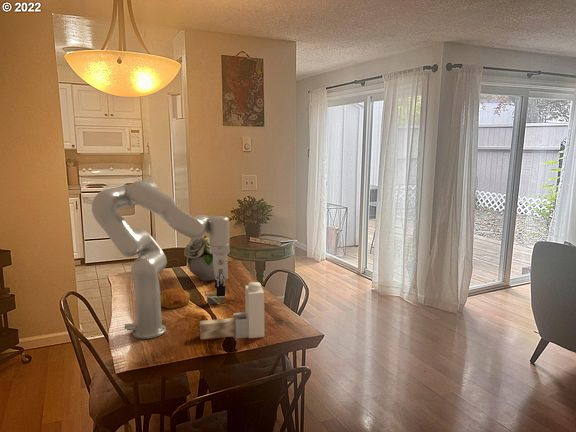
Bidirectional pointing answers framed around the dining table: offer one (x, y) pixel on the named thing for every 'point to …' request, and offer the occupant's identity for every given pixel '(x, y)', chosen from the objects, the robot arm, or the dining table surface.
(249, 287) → the post
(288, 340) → the dining table surface
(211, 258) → the flower arrangement
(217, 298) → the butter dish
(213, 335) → the rail
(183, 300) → the croissant
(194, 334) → the dining table surface
